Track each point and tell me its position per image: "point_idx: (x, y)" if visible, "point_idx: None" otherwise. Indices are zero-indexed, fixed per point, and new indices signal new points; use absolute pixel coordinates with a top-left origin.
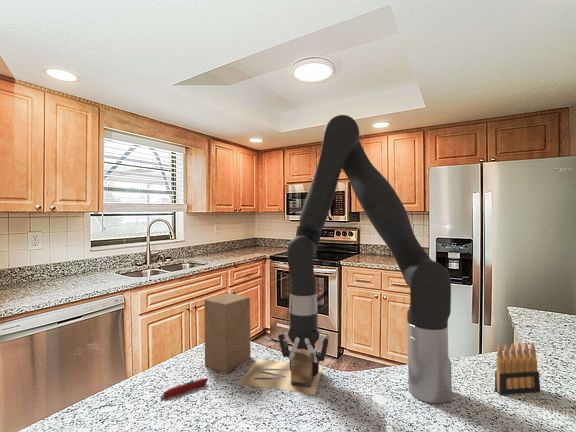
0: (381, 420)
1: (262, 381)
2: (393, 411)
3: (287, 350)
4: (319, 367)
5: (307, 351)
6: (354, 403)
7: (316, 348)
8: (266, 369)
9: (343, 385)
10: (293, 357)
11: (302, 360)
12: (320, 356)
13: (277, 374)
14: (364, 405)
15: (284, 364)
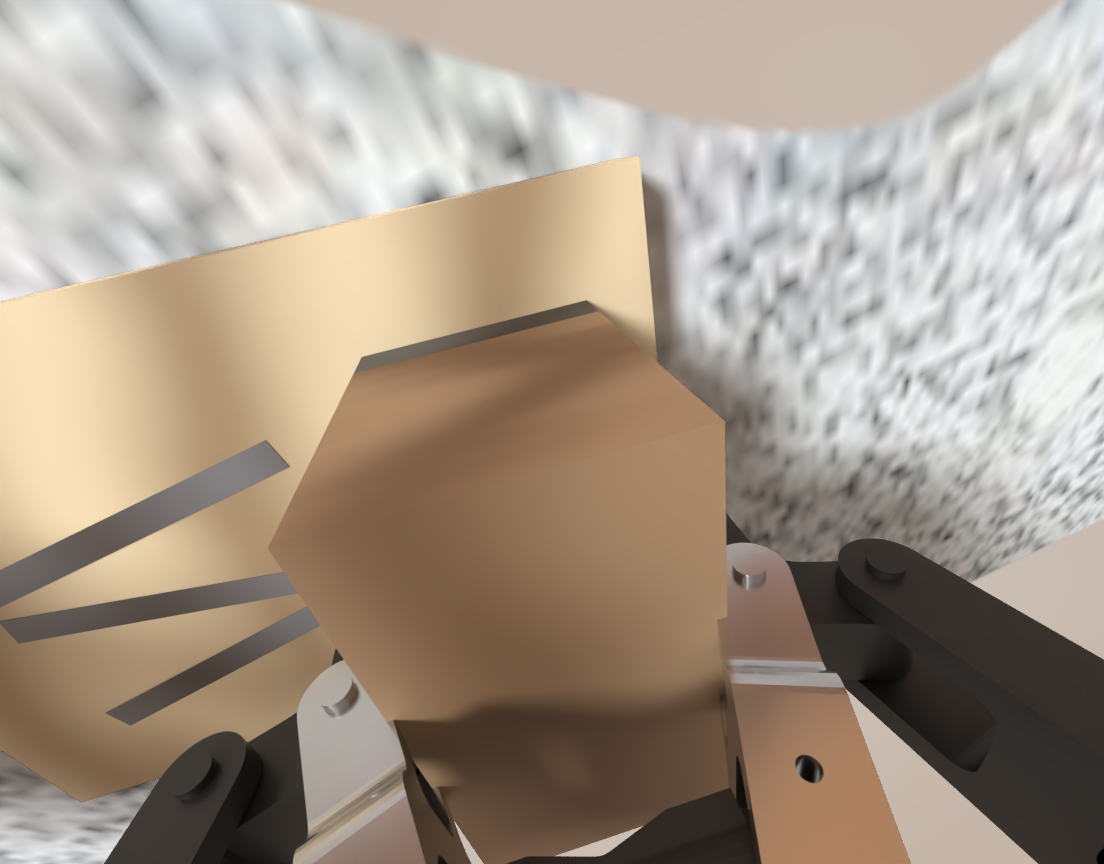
0: (1001, 538)
1: (226, 703)
2: (1090, 448)
3: (244, 845)
4: (600, 212)
5: (584, 612)
6: (895, 490)
7: (835, 675)
8: (36, 570)
9: (839, 330)
10: (467, 826)
11: (619, 803)
12: (867, 700)
13: (245, 578)
14: (949, 478)
15: (104, 365)
